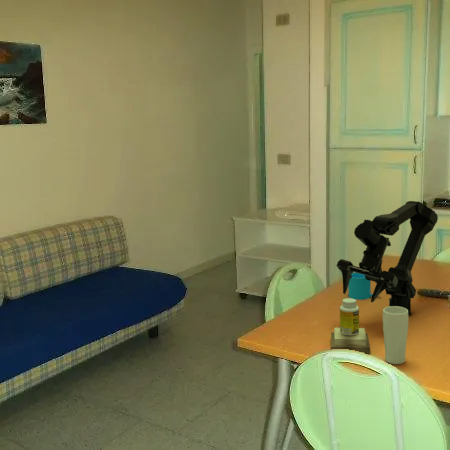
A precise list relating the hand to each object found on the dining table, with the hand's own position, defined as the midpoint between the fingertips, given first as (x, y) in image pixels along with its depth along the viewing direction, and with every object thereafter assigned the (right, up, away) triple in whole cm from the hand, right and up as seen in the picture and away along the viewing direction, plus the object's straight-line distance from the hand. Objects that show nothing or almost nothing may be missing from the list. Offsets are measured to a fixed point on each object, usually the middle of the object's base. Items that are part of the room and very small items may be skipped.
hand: (357, 297), depth 182 cm
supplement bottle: (-4, -10, -7) cm, 13 cm away
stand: (-4, -14, -7) cm, 16 cm away
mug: (+11, -5, +37) cm, 39 cm away
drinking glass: (+6, -16, -19) cm, 25 cm away
